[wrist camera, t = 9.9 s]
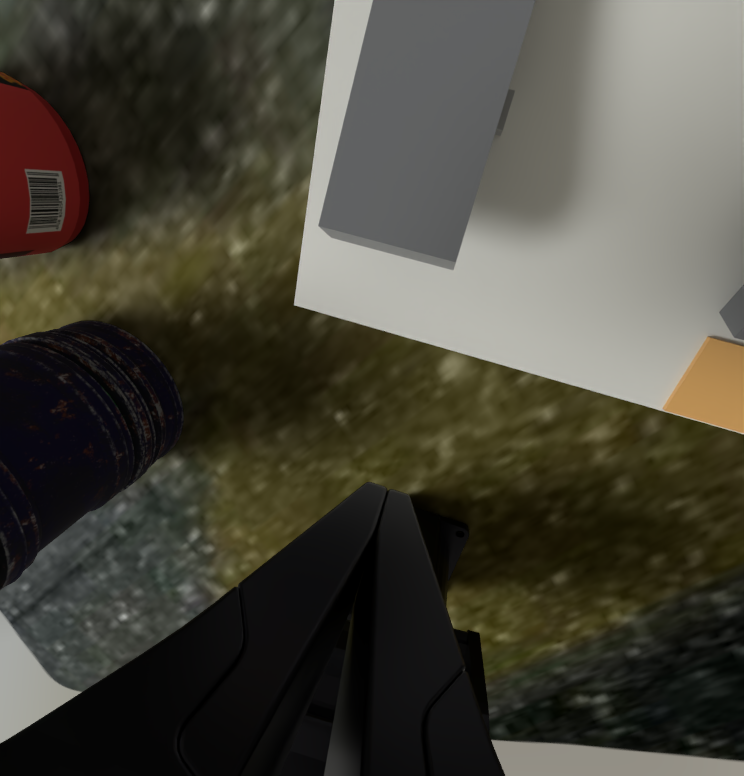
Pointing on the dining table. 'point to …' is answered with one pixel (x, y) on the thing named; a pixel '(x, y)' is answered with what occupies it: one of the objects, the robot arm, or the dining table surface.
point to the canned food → (37, 175)
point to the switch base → (577, 210)
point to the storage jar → (75, 430)
